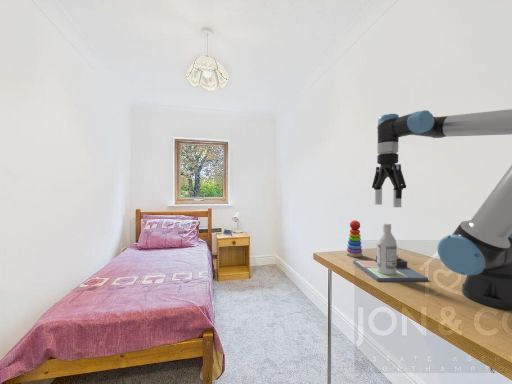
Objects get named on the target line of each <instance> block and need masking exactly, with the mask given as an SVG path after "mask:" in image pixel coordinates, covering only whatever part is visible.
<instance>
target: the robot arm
mask: <svg viewBox="0 0 512 384" xmlns="http://www.w3.org/2000/svg"><path fill="white" fill-rule="evenodd" d="M376 129H377V146H376V147H377V149H376V150H377V154H378V155H377V156H376V157H377V158H376V159H377V161H376V162H377V164H378V165H380V166H376V167H375V173H374V178H373V181H372V185H371V188H372V189H374V205H379V206H380V205H383V188H382V187H383V185H384V183H385V181H386V179H387V178H389V180H390V181H391V183H392V186H393V189H392V190H393V192H392V195H393V196H392V208H402V199H403V198H402V197H403V196H402V194H403V189H407V184H406V181H405V178H404V175H403V171H402V164H400V163H399V153H398V152H399V147H400V146H399V139H400V138H403V137H407V136H419V137H426V138H432V139H441V138H446V137H447V138H448V137H449V138H450V137H465V136H466V137H473V136H475V137H476V136H502V135H503V136H504V135H508V136H509V135H512V108H510V109H500V110H492V111H491V110H490V111H482V112H481V111H480V112H472V113H471V112H470V113H465V114H463V113H462V114H455V115H445V116H444V115H443V116H434V115H433V114H432V113H431V112H430V111H429V110H427V109H426V110H424V109H423V110H420V111H419V110H418V111H415V112H413V113H409V114H406V115H403V116H399V114H398V113H388V114H383V115H381V116H379V118H378V119H377V127H376ZM437 254H438V257H439V260H440V261H441V263H442V264H443V265H444V266H445V267H446V268H447V269H448V270H450V271H451V272H453V273H456V274H458V275H463V276H466V277H465V280H464V282H463V283H462V285H461V293H462V295H463V296H465V297H466V298H468V299H469V300H472V301H474V302H477V303H479V304H483V305H485V306H490V307H492V308H497V309H504V310H509V311H512V164H511V166H510V167H509V168H508V169H507V170H506V172H505V174H504V175H503V176H502V178H501V179H500V180H499V182H497V184H496V185H495V186H494V188H493V190H492V191H491V193H490V194H489V195H488V197H487V198H486V199H485V200H484V202H483V204H482V205H481V206H480V207H479V208H478V210H477V211H476V213H475V214H474V215H473V216H472V218H471V219H470V220H463V221H461V222H460V223H459V225H458V226H457V228H456V229H455V230H454V232H453V233H452V234H448V235H446V236H444V237H442V238H441V239H440V240H439V242H438V244H437Z"/></svg>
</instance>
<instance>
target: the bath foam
mask: <svg viewBox="0 0 512 384" xmlns="http://www.w3.org/2000/svg"><path fill="white" fill-rule="evenodd" d="M393 235H394V234H392V224H391V223H383V224H382V233H381V234H380V235H379V237H378V238H377V242H376V244H377V245H376V251H377V253H376V256H377V271H378V272H380V273H382V274H386V275H394V274H396V256H397V255H398V254H397V251H398V250H397V248H398V245H397V240H396V238H395V236H393Z"/></svg>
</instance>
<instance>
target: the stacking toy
mask: <svg viewBox="0 0 512 384" xmlns="http://www.w3.org/2000/svg"><path fill="white" fill-rule="evenodd" d="M349 227H350V229H349V237H348V241H347V244H346V245H347V248H346V250H347V251H346V255H347V256H349V257H352V258H361V257H362V256H363V249H362V242H361V240H362V238H361V230H360V228H361V222H359V220H355V219H354V220H351V221H350V223H349Z"/></svg>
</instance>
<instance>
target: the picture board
mask: <svg viewBox="0 0 512 384" xmlns="http://www.w3.org/2000/svg"><path fill="white" fill-rule="evenodd" d="M375 257H376V259H375V260H353V261H352V263H353V264H354V265H355V266H356V267H357V268H359V269H360V270H361V271H363V272H364V273H365V274H367V275H368V276H369V277H371V278H372V279H373V280H374V281H376V282H429V277H427V276H425V275H424V274H421V273H419V271H416V270H415V269H412V268H410V267H408V261H407V260H405V259H403V258H401V257H399V256H398V261H396V274H394V275H386V274H382V273H380V272H378V271H377V255H376V256H375Z"/></svg>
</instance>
